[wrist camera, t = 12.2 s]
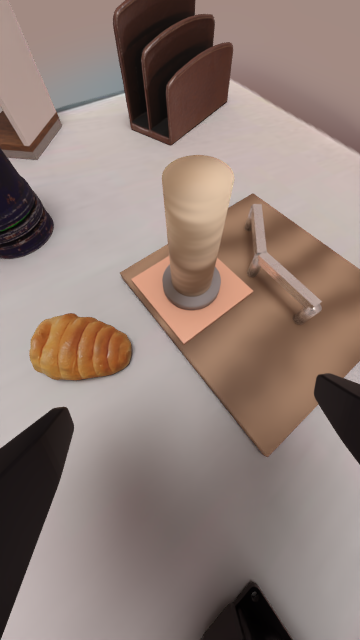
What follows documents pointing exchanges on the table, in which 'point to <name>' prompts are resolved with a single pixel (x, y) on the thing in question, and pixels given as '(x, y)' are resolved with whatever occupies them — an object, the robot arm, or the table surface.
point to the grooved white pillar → (22, 95)
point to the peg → (194, 228)
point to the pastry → (78, 348)
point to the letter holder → (170, 66)
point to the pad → (190, 321)
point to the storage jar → (20, 214)
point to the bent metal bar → (278, 268)
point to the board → (272, 327)
